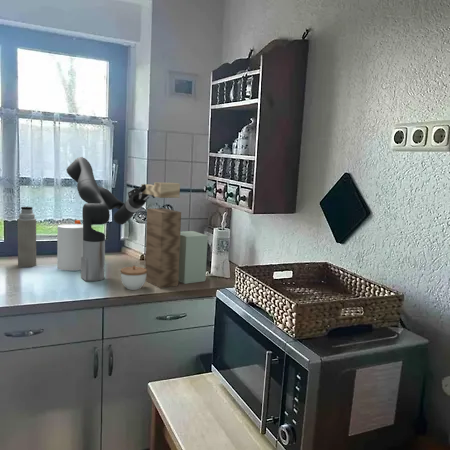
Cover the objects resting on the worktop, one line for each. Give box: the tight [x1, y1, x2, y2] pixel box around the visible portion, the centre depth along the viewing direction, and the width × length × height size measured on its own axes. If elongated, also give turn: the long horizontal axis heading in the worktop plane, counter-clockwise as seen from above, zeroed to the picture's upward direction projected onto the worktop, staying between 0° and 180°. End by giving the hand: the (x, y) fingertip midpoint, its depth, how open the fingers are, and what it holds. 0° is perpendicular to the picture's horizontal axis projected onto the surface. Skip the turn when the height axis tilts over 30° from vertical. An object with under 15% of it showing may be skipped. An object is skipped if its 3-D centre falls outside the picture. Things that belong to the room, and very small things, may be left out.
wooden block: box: [140, 181, 181, 199], centre depth 197 cm, size 24×9×6 cm, turn 35°
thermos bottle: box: [17, 206, 37, 268], centre depth 212 cm, size 8×8×28 cm
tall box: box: [144, 207, 182, 289], centre depth 195 cm, size 9×14×32 cm, turn 35°
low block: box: [178, 230, 209, 285], centre depth 204 cm, size 11×13×21 cm
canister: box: [56, 223, 83, 271], centre depth 214 cm, size 14×14×20 cm
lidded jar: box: [120, 265, 147, 291], centre depth 187 cm, size 11×11×9 cm
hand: (149, 186), depth 203 cm, fingers closed on wooden block, 4 cm apart
